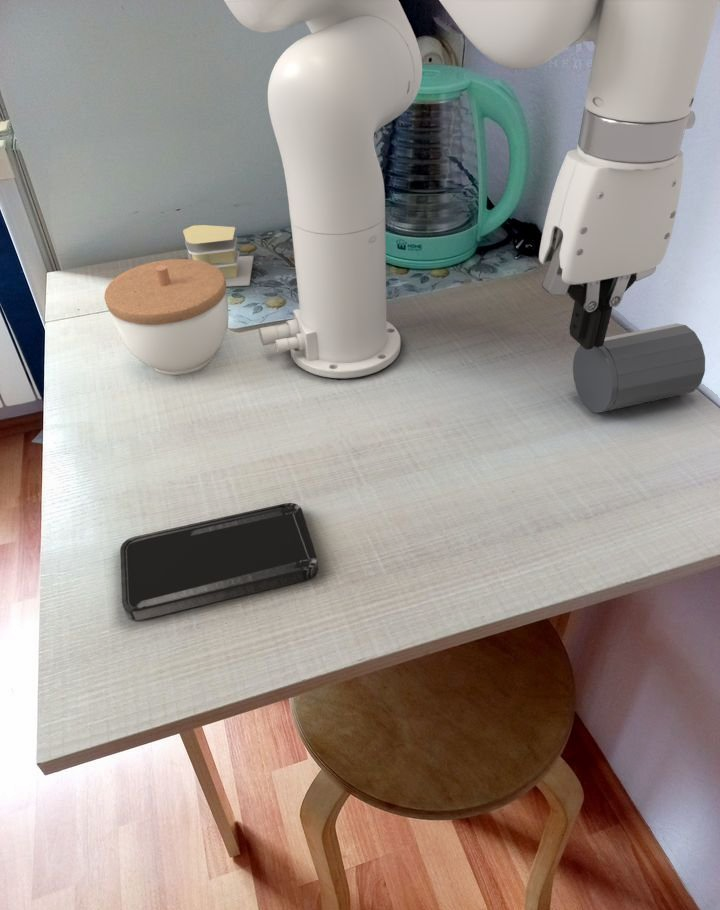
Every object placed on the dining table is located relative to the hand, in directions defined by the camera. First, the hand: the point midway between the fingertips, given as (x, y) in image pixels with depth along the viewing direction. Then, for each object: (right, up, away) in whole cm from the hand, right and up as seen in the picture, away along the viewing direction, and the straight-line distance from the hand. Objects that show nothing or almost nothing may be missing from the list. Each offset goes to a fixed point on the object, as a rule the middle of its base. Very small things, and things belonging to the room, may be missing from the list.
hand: (585, 340), depth 66 cm
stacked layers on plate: (-41, +14, +31) cm, 53 cm away
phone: (-32, -20, -9) cm, 39 cm away
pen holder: (+2, -3, +3) cm, 5 cm away
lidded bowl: (-41, 0, +15) cm, 44 cm away
